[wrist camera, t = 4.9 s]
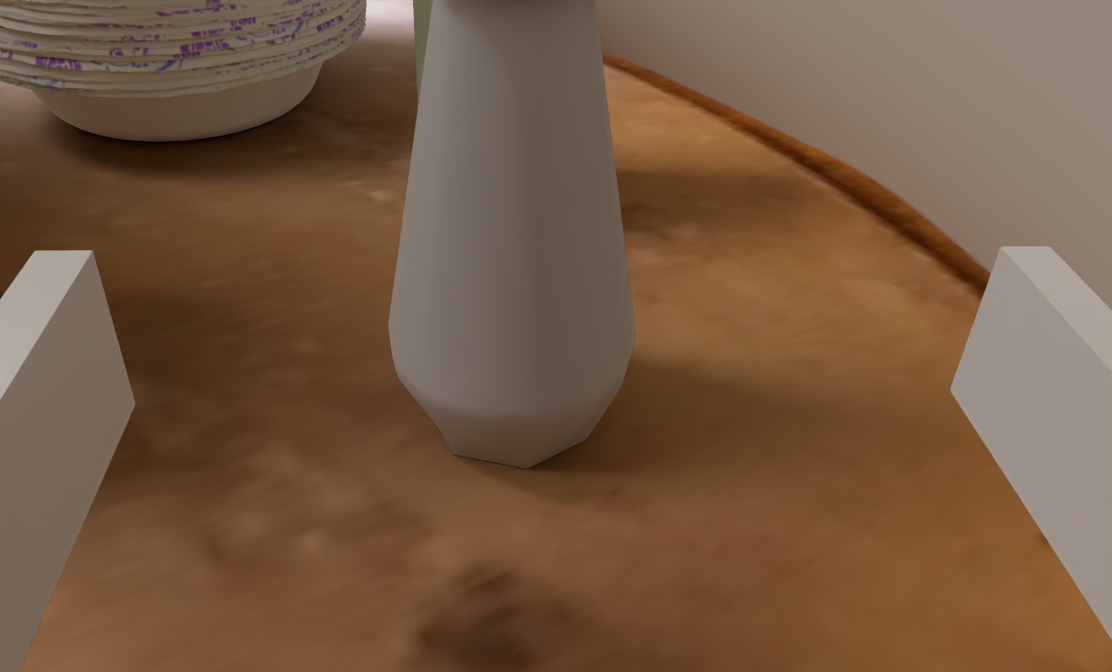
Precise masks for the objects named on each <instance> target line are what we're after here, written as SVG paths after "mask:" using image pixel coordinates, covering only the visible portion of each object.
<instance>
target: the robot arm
mask: <svg viewBox="0 0 1112 672" xmlns="http://www.w3.org/2000/svg"><path fill="white" fill-rule="evenodd" d="M950 391H951V393H952V394H953V396H954V397H955V399H956V401H957V402H958V404H959V405H960V407H961V408H962V410H963V411H964V413H965V414H966V416H967V417H968V419H969V421H970V422H971V424H972V425H973V427H974V428H975V430H976V431H977V433H978V434H979V436H980V437H981V439H982V441H983V442H984V444H985V445H986V447H987V448H988V450H989V451H990V453H991V454H992V456H993V458H994V459H995V461H996V462H997V464H998V465H999V467H1000V468H1001V470H1002V471H1003V473H1004V474H1005V476H1006V478H1007V479H1008V481H1009V482H1010V484H1011V485H1012V487H1013V488H1014V490H1015V491H1016V493H1017V494H1018V496H1019V498H1020V499H1021V501H1022V502H1023V504H1024V505H1025V507H1026V508H1027V510H1028V511H1029V513H1030V515H1031V516H1032V518H1033V519H1034V521H1035V522H1036V524H1037V525H1038V527H1039V528H1040V530H1041V531H1042V533H1043V535H1044V536H1045V538H1046V539H1047V541H1048V542H1049V544H1050V545H1051V547H1052V548H1053V550H1054V551H1055V553H1056V555H1057V556H1058V558H1059V559H1060V561H1061V562H1062V564H1063V565H1064V567H1065V568H1066V570H1067V572H1068V573H1069V575H1070V576H1071V578H1072V579H1073V581H1074V582H1075V584H1076V585H1077V587H1078V588H1079V590H1080V592H1081V593H1082V595H1083V596H1084V598H1085V599H1086V601H1087V602H1088V604H1089V605H1090V607H1091V608H1092V610H1093V612H1094V613H1095V615H1096V616H1097V618H1098V619H1099V621H1100V622H1101V624H1102V625H1103V627H1104V629H1105V630H1106V632H1107V633H1108V635H1109V636H1110V638H1111V639H1112V310H1111V309H1110V308H1109V307H1108V306H1107V305H1106V304H1105V303H1104V302H1103V301H1102V300H1101V299H1100V298H1099V297H1098V296H1097V295H1096V294H1095V293H1094V292H1093V291H1092V290H1091V289H1090V288H1089V287H1088V286H1087V284H1086V283H1085V282H1084V281H1083V280H1082V279H1081V278H1080V277H1079V276H1078V275H1077V274H1076V273H1075V272H1074V271H1073V270H1072V269H1071V268H1070V267H1069V266H1068V265H1067V264H1066V263H1065V262H1064V261H1063V260H1062V259H1061V258H1060V257H1059V256H1058V255H1057V254H1056V253H1055V252H1054V251H1053V249H1052V248H1051V247H1050V246H1039V247H1038V246H1035V247H1033V246H1025V247H1023V246H1022V247H1021V246H1018V247H1001V248H1000V250H999V253H998V256H997V259H996V262H995V264H994V267H993V270H992V273H991V275H990V278H989V281H988V284H987V287H986V290H985V292H984V295H983V298H982V301H981V304H980V306H979V309H978V312H977V315H976V318H975V320H974V323H973V326H972V329H971V332H970V335H969V337H968V340H967V343H966V346H965V349H964V351H963V354H962V357H961V360H960V363H959V366H958V368H957V371H956V374H955V377H954V380H953V382H952V385H951V388H950ZM134 407H135V401H134V397H133V393H132V390H131V386H130V383H129V379H128V375H127V372H126V368H125V365H124V361H123V357H122V354H121V350H120V347H119V343H118V340H117V336H116V332H115V329H114V325H113V322H112V318H111V314H110V311H109V307H108V304H107V300H106V296H105V293H104V289H103V286H102V282H101V278H100V275H99V271H98V268H97V264H96V260H95V257H94V253H93V250H69V251H34V253H33V254H32V256H31V257H30V258H29V260H28V261H27V263H26V264H25V265H24V267H23V268H22V270H21V271H20V272H19V274H18V275H17V277H16V278H15V279H14V281H13V282H12V284H11V285H10V286H9V288H8V289H7V291H6V292H5V293H4V295H3V296H2V298H1V299H0V672H19V670H20V668H21V665H22V663H23V661H24V658H25V656H26V654H27V652H28V649H29V647H30V645H31V642H32V640H33V638H34V635H35V633H36V631H37V629H38V626H39V624H40V622H41V619H42V617H43V615H44V613H45V610H46V608H47V606H48V603H49V601H50V599H51V597H52V594H53V592H54V590H55V587H56V585H57V583H58V581H59V578H60V576H61V574H62V571H63V569H64V567H65V565H66V562H67V560H68V558H69V555H70V553H71V551H72V548H73V546H74V544H75V542H76V539H77V537H78V535H79V532H80V530H81V528H82V526H83V523H84V521H85V519H86V516H87V514H88V512H89V510H90V507H91V505H92V503H93V500H94V498H95V496H96V494H97V491H98V489H99V487H100V484H101V482H102V480H103V477H104V475H105V473H106V471H107V468H108V466H109V464H110V461H111V459H112V457H113V455H114V452H115V450H116V448H117V445H118V443H119V441H120V439H121V436H122V434H123V432H124V429H125V427H126V425H127V423H128V420H129V418H130V416H131V413H132V411H133V409H134Z"/></svg>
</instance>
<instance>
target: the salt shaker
mask: <svg viewBox="0 0 1112 672" xmlns="http://www.w3.org/2000/svg"><path fill="white" fill-rule="evenodd" d="M388 330H389V336H390V343H391V350H392V356H393V361H394V365H395V369H396V373H397V376H398V379H399V380H400V381H401V382H402V384H403V385H404V386H405V387H406V389H407V390H408V391H409V392H410V394H411V395H412V396H413V397H414V399H415V400H416V401H417V402H418V404H419V405H420V406H421V407H422V409H423V410H424V411H425V412H426V414H427V415H428V416H429V417H430V419H431V420H432V421H433V423H434V424H435V425H436V426H437V428H438V429H439V430H440V432H441V433H442V435H443V437H444V439H445V441H446V442H447V444H448V446H449V448H450V450H451V451H452V453H453V455H458V456H463V457H468V458H474V459H479V460H484V461H489V462H494V463H499V464H504V465H509V466H514V467H519V468H524V469H528V468H530V467H532V466H534V465H536V464H538V463H540V462H542V461H544V460H546V459H548V458H550V457H552V456H554V455H556V454H558V453H560V452H562V451H564V450H566V449H568V448H570V447H572V446H574V445H576V444H578V443H580V442H582V441H584V440H586V439H587V438H588V437H589V435H590V434H591V432H592V431H593V429H594V428H595V426H596V425H597V423H598V422H599V420H600V419H601V417H602V416H603V414H604V412H605V411H606V409H607V408H608V406H609V405H610V403H611V402H612V400H613V399H614V397H615V396H616V394H617V393H618V391H619V390H620V388H621V387H622V384H623V381H624V377H625V374H626V370H627V367H628V363H629V360H630V356H631V352H632V349H633V345H634V342H635V338H636V331H635V323H634V315H633V307H632V299H631V291H630V282H629V274H628V266H627V258H626V250H625V242H624V233H623V225H622V217H621V209H620V201H619V193H618V184H617V176H616V168H615V160H614V152H613V144H612V135H611V127H610V119H609V111H608V103H607V95H606V86H605V78H604V70H603V62H602V54H601V46H600V37H599V30H598V21H597V13H596V5H595V0H433V3H432V10H431V17H430V24H429V32H428V39H427V46H426V54H425V61H424V68H423V75H422V83H421V90H420V97H419V104H418V112H417V119H416V126H415V133H414V141H413V148H412V155H411V162H410V170H409V177H408V184H407V192H406V199H405V206H404V213H403V221H402V228H401V235H400V242H399V250H398V257H397V264H396V271H395V279H394V286H393V293H392V301H391V308H390V315H389V322H388Z"/></svg>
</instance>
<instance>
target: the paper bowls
mask: <svg viewBox="0 0 1112 672" xmlns="http://www.w3.org/2000/svg"><path fill="white" fill-rule="evenodd" d="M365 13H366V0H0V81H2V82H6V83H9V84H12V85H15V86H20V87H25V88H29V89H31V90H32V91H33V92H34V94H35V95H36V96H37V97H38V98H39V99H40V100H41V102H42V103H43V104H44V105H45V106H46V107H47V108H48V109H49V110H50V111H51V112H52V113H53V114H55V115H56V116H57V117H59V118H60V119H61V120H63V121H65V122H67V123H69V124H71V125H73V126H75V127H77V128H80V129H82V130H85V131H88V132H91V133H94V134H97V135H102V136H106V137H111V138H116V139H123V140H133V141H150V142H165V141H185V140H196V139H203V138H211V137H216V136H222V135H227V134H232V133H236V132H240V131H244V130H247V129H250V128H253V127H256V126H259V125H262V124H264V123H267V122H269V121H271V120H273V119H276V118H278V117H280V116H282V115H283V114H285V113H287V112H288V111H290V110H291V109H293V108H294V107H295V106H297V105H298V104H299V103H300V102H301V101H302V100H303V99H304V98H305V97H306V96H307V95H308V93H309V92H310V91H311V89H312V88H313V86H314V84H315V82H316V80H317V77H318V74H319V71H320V69H321V66H322V63H323V61H324V60H326V59H330V58H332V57H333V56H335V55H337V54H339V53H342V51H344V50H345V49H347V48H349V47H350V46H351V44H352V43H353V42H355V41H356V40H357V39H358V37H360V36H361V33H362V32H363V31H364V29H365V28H364V26H366V24H365V21H366V18H365V16H366V15H365Z"/></svg>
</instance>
